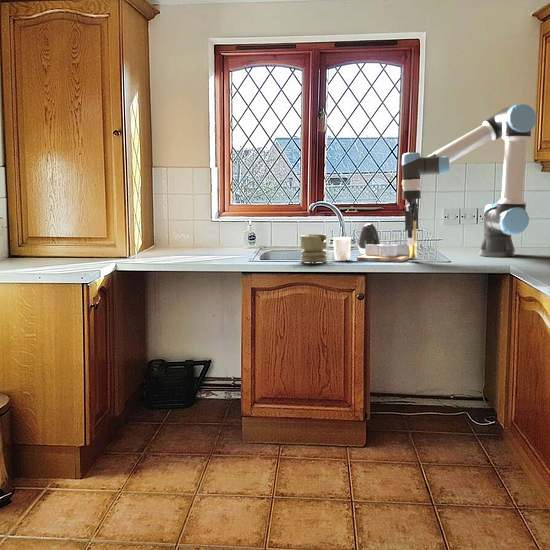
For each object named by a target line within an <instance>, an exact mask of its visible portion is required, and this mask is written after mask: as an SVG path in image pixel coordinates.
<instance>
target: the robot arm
mask: <svg viewBox="0 0 550 550" xmlns="http://www.w3.org/2000/svg"><path fill="white" fill-rule="evenodd" d="M536 124H537V113H536V111H535V110H534V109H533V107H532V106H530V105H529V104H525V103H517V104H513V105H511V106H507V107H505V108H503V109H501V110H500V111H498V112H497V113H495V114H493V115H492V116H490V117H489V118H487V119H486V120H484V121H483V122H482V125H480V126H478V127H476V128H475V129H473V130H471V131H469V132H467V133H466V134H464V135H462V136H459V137H458V138H457V139H454V141H452V142H450V143H448V144H446V145H445V146H443V147H441V148H439V149H437V150H435V151H434V152H432V153H431V154H429V155H427V156H421V153H420V152H406V153H403V154H402V157H401V173H402V175H401V176H402V179H401V180H402V181H401V184H400V185H401V186H402V187H401V188H402V192H401V193H402V200H404V201H406V204H405V205H404V206H403V208H404V222H405V223H404V224H405V225H404V227H405V228H404V230H405V231H406V236H407V237H406V244H407V246H414V230H413V220H416V246H418V235H417V233H418V231H417V230H419V229H420V228H419V207H420V205H419V204H418V202H417V200H420V199H421V197H422V196H421V195H422V194H421V189H422V188H421V176H433V175H435V176H436V175H437V176H438V175H440V176H441V175H446V174H448V173H449V170H450V164H451V163H452V162H454V161H456V160H457V159H460V158H461V157H463V156H465V155H467V154H468V153H470V152H472V151H474V150H475V149H478V148H479V147H481V146H482V145H484V144H486V143H488V142H490V141H493V142H494V141H496V140H498V139H500V138H501V140H503V141H504V148H503V149H504V151H503V164H502V165H503V166H502V180H501V181H502V182H501V196H500V199H499V200H498V201H497V202H496V203H489V204H486V205H485V207H484V211H483V213H484V214H483V215H484V217H483V218H484V219H483V223H484V224H483V226H484V227H483V241H482V243H481V246H480V249H479V256H484V257H488V258H489V257H493V258H496V257H497V258H502V257H503V258H507V257H508V258H509V257H515V256H516V250H515V246H514V243H513V240H512V236H517V235H520V234H522V233H523V232H524V231H526V229H527V228H528V226H529V224H530V223H529V222H530V216H529V213H527V211H526V209H527V208H526V207H527V206H526V205H527V203H526V202H525V200H524V199H523V196H524V195H523V194H524V182H525V181H524V180H525V171H526V167H525V165H526V155H527V142H528V141H529V140H530V139H531V138H532V130H533V128H534V127H535V125H536Z"/></svg>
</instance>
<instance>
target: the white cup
mask: <svg viewBox="0 0 550 550" xmlns="http://www.w3.org/2000/svg"><path fill="white" fill-rule="evenodd" d="M332 240H333V253H334V260H335V261H337V262H339V261H340V262H346V260H347V261H350V259H351V249H352V246H351V245H352V238H351V237H349V236H339V237H336V236H335V237H333V238H332Z"/></svg>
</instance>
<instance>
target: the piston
mask: <svg viewBox="0 0 550 550" xmlns="http://www.w3.org/2000/svg"><path fill="white" fill-rule="evenodd" d="M327 246H328V245H327V234H323V233H321V234H320V233H319V234H318V233H314V234H313V233H309V234H308V235H301V234H300V249H301V251H300V255H301V256H300V263H301V262H310V263H312V262H313V263H316V262H326V263H327V261H328V258H327V253H328V252H327V250H325V249H327Z"/></svg>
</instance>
